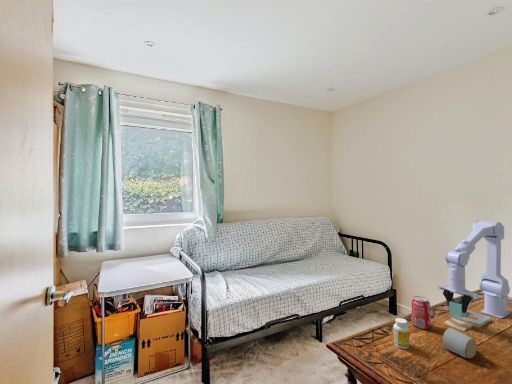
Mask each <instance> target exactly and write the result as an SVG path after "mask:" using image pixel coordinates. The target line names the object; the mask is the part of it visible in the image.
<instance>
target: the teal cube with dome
mask: <svg viewBox="0 0 512 384" xmlns="http://www.w3.org/2000/svg"><path fill="white" fill-rule="evenodd" d="M448 308H449V310H448V311H449V313H448V314H449V315H450V316H451V315H453V316H456V317H459V318H463V317H466V316H468V315H467V313H463V312H462V301H461V298H453V300H452V301H450V302H449V306H448Z"/></svg>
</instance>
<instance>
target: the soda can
mask: <svg viewBox="0 0 512 384" xmlns="http://www.w3.org/2000/svg"><path fill="white" fill-rule="evenodd" d="M431 310H432V309H431V304H430V301H429V299H428V298H427V297H426V296H422V295H421V296H420V295H414V296H413V297H412V299H411V322H412V323H411V324H412V325H414V326H415V327H416V328H418V329H421V330H426V329H429V328H430V327H431V325H432V324H431V323H432V315H431V312H432V311H431Z"/></svg>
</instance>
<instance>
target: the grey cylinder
mask: <svg viewBox="0 0 512 384" xmlns="http://www.w3.org/2000/svg"><path fill="white" fill-rule="evenodd" d="M442 346H443V347H444V349H446V350H447V351H450V352H452V353H454V354H457V355H459V356H461V357H462V358H465V359H472V358H474V357H475V356H476V353H477V349H478V344H477V342H476V340H475V339H473V338H472V337H470V336H469V335H467V334H465V333H463V332H462V331H458V330H457V329H455V328H453V327H448V328H447V329H446V330H445V331H444V332H443V336H442Z"/></svg>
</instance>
